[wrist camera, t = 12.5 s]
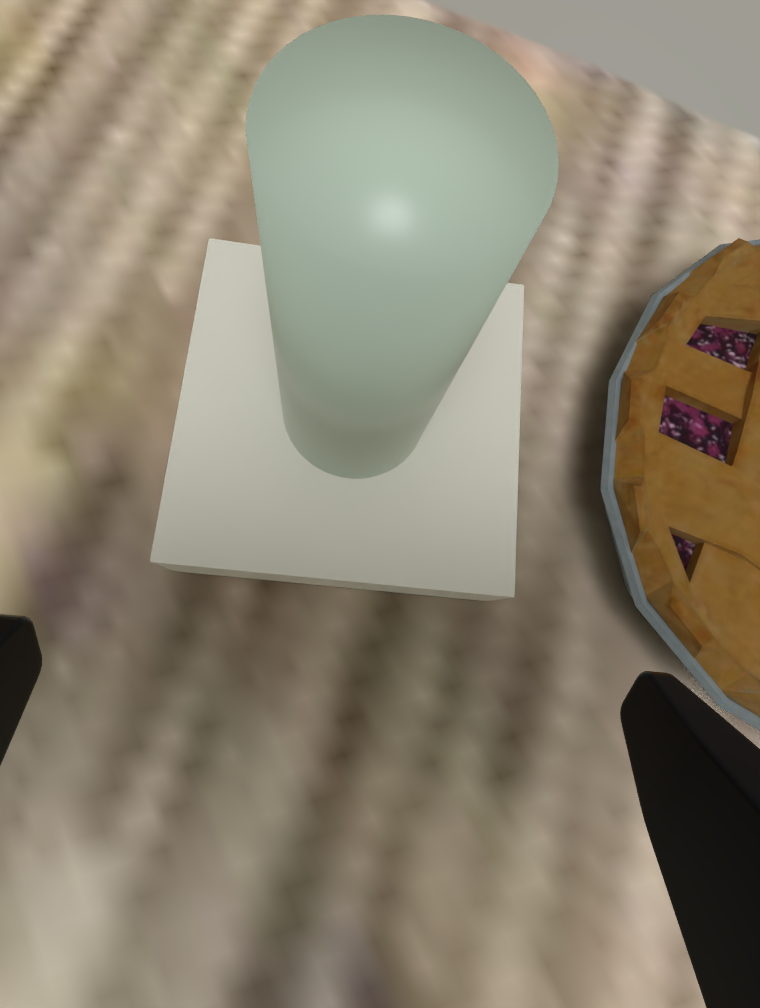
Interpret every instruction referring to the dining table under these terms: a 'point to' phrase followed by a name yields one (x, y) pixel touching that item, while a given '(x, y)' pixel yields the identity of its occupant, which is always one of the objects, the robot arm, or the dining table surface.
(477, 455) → the stand
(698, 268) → the pie
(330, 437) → the ball
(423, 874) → the dining table surface
